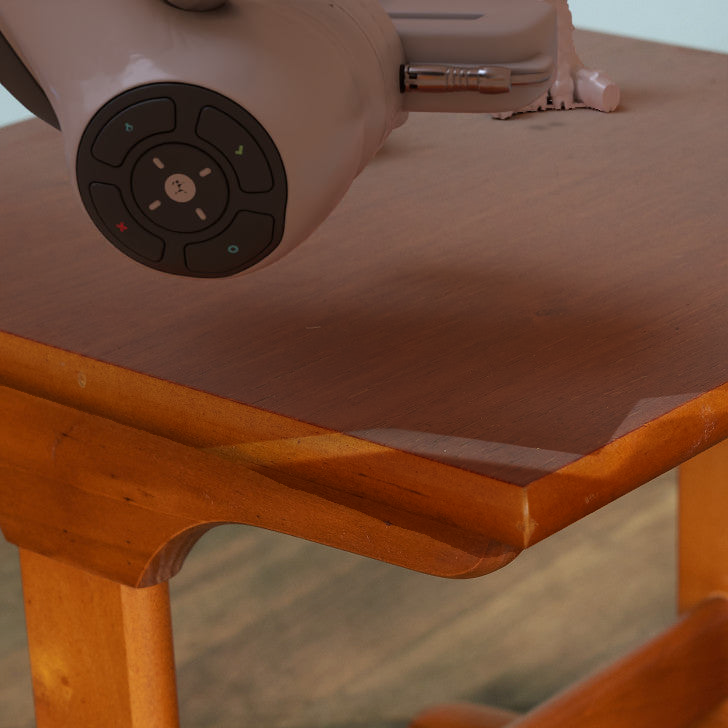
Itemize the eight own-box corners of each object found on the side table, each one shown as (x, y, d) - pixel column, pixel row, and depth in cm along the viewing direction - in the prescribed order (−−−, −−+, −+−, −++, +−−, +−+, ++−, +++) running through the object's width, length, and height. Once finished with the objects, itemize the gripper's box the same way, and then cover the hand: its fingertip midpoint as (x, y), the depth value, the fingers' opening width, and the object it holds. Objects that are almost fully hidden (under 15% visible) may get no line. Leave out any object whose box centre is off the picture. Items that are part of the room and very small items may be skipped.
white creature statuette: (488, 121, 113) (484, -64, 108) (461, 93, 120) (456, -81, 115) (622, 111, 115) (625, -71, 109) (588, 84, 122) (589, -88, 117)
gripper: (547, 3, 66) (577, -51, 78) (47, -4, 68) (153, -55, 80) (546, 161, 69) (576, 85, 81) (67, 149, 71) (166, 77, 83)
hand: (362, 15), depth 80 cm, fingers closed on pill bottle, 4 cm apart
